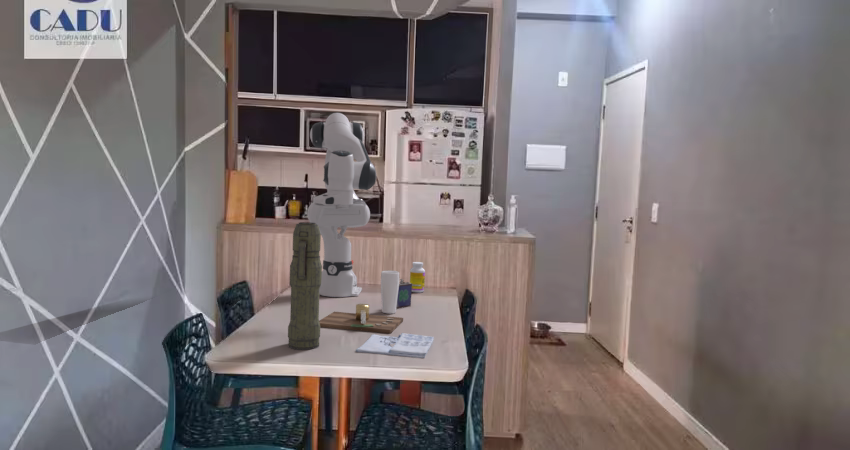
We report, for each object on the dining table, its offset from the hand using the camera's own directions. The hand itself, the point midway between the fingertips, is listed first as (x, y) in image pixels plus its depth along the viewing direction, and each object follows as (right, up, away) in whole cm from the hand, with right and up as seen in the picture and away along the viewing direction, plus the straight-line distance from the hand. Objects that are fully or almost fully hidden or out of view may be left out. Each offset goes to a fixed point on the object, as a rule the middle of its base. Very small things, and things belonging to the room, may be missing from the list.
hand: (338, 239), depth 193 cm
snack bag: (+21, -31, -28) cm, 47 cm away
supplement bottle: (+26, -25, +56) cm, 66 cm away
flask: (+21, -27, +24) cm, 41 cm away
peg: (+9, -27, -7) cm, 29 cm away
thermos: (-5, -30, -33) cm, 44 cm away
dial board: (+8, -28, -5) cm, 30 cm away
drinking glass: (+16, -27, +13) cm, 35 cm away
